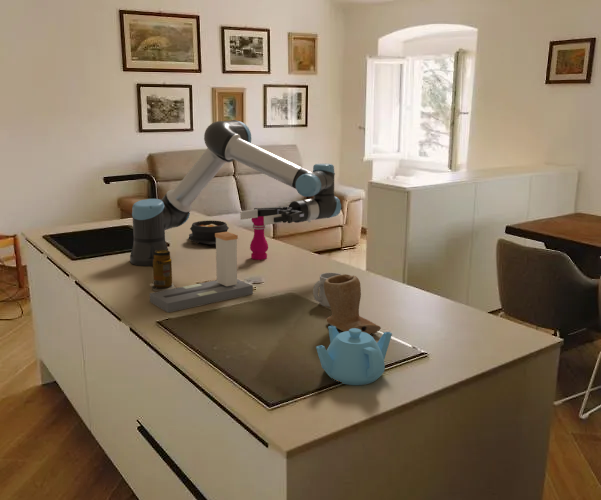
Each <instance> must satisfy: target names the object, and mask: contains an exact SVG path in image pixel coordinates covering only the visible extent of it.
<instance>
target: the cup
mask: <svg viewBox="0 0 601 500" xmlns="http://www.w3.org/2000/svg"><path fill="white" fill-rule="evenodd" d="M336 275H343V274H341V273H339V272H322V273H321V274H320V275H319V280H318V281H316V282H315V283H314V285H313V289H312V295H313V298H314V300H315V301H316V302H319V304H320V305H321V306H322V307H328V308H330V305H329V303H328V300H327V298H326V295H325V291H324V282H325V280H326V279H327V278H329V277H333V276H336Z"/></svg>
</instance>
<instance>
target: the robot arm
mask: <svg viewBox="0 0 601 500" xmlns="http://www.w3.org/2000/svg"><path fill="white" fill-rule="evenodd" d="M203 137H204V138H203V140H204V144H205V146H206V148H207V149H205V150H204V152H203V153H202V154H201V156H200V157H199V158H198V160H197V161H196V162H195V163H194V165H193V166H192V167H191V168H190V170H189V171H188V172H187V173H186V175H185V176H184V177H183V178H182V179H181V181H180V182H179V183H178V184H177V186H176V187H175V188H174V189H169V190H168V191H166V193H165V195H164V196H163V197H162V198H161V199H159V198H147V199H140V200H138V201H136V202H134V203H133V205H132V209H131V210H132V212H131V216H132V230H133V231H132V232H133V233H132V234H133V245H132V248H131V252H130V256H129V262H130V264H132V265H134V266H138V267H139V266H141V267H153V259H154V252H155V251H157V250H168V251H169V247H168V245H167V243H166V236H165V233H166V231H167V230H171V229H174V228H178V227H180V226H182V225H184V224H185V223H186V222H187V221H188V220H189V218H190V214H191V211H192V210H193V204H192V203H193V202H194V201H195V200H196V199H197V198H198V197H199V195H200V194H201V193H202V192H203V190H204V189H205V188H206V187H207V185H208V184H209V183H210V182H211V181H212V180H213V179H214V177H215V176H216V175H217V174H218V172H220V170H221V169H222V167H223V166H224V165H225V164H226V163H227V164H229V163H232V162H233V161H236V162H238V163H241V164H242V165H245V166H247V167H248V168H251V169H253V170H255V171H257V172H259V173H261V174H263V175H265V176H268V177H270V178H272V179H274V180H276V181H278V182H280V183H282V184H284V185H287V186H288V187H291V188H293V189H294V190H296V191H297V193H298V194H299V195H301V196H302V197H313V198H307V199H301V200H293V201H291V202H290V203H289V205H288V206H275V207H274V206H273V207H255V208H253V209H248V210H241V211H240V212H239V213H240V220H242V221H243V220H248V219H252V218H256V219H257V217H259V216H264V225H266V226H268V225H275V224H276V225H277V224H281V223H283V224H286V223H287V224H292V223H295V224H296V223H304V222H308V223H312V221H316V220H321V219H330V218H333V217H336V216H338V215H339V214H340V212H341V211H342V204H341V199H339V197H337V196H335V175H336V173H335V165H334V164H332V163H315V164H313V167H312V168H313V169H312V171H311V170H308V169H307V168H304V167H302V166H301V165H298V164H296V163H293V162H292V161H290V160H287V159H285V158H283V157H281V156H278V155H276V154H275V153H272V152H271V151H268V150H266V149H264V148H262V147H259V146H257V145H255V144H254V143H252V133H251V130H250V128H249V127H248V125H247V124H245V122H242V121H239V120H236V119H233V120H232V119H231V120H224V121H223V120H218V121H214V122H212V123H210V124H209V125H208V126H207V128H206V129H205V131H204V135H203Z"/></svg>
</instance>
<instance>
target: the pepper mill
mask: <svg viewBox="0 0 601 500" xmlns="http://www.w3.org/2000/svg"><path fill="white" fill-rule="evenodd" d="M250 219H251V222H252V229H253V238H252V239H251V242H250V246H249V250H250V251H251V252H252V253H250V254H251V256H250V257H251V259H252V260H255V261H262V260H267V258H268V253H267V252H268V250H269V243H268V241H267V239H266V235H265V229H266V226H267V225H264V216H259V217H257V219H256V218H250Z"/></svg>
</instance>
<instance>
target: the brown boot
mask: <svg viewBox="0 0 601 500" xmlns="http://www.w3.org/2000/svg"><path fill="white" fill-rule="evenodd" d="M361 287H362V286H361V281H360V279H359V278H358V276H357V275H355V274H354V275H350V274H345V273H343V274H342V275H336V276H333V277H329V278H327V279H326V280H325V282H324V291H325V295H326V298H327V300H328V303H329V305H330V307H329V308H330V310H331V316H330V315H329V316H328V317H326V320H325V321H326V322H327V323H328V324H329V326H335V327H336V329H337V330H340V332H345V331H349V329H352V328H357V329H360V330H361V332H365V333H368V334H371V333H373V334H376V333H378V332H379V331H381V329H382V328H381V326H380V325H378V324H376V323H374V322H372V321H370V320H369V319H367V318H365V317H362V316H361V315H360V303H361V299H362V298H361V297H362V291H361V289H362V288H361ZM371 335H372V334H371Z"/></svg>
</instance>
